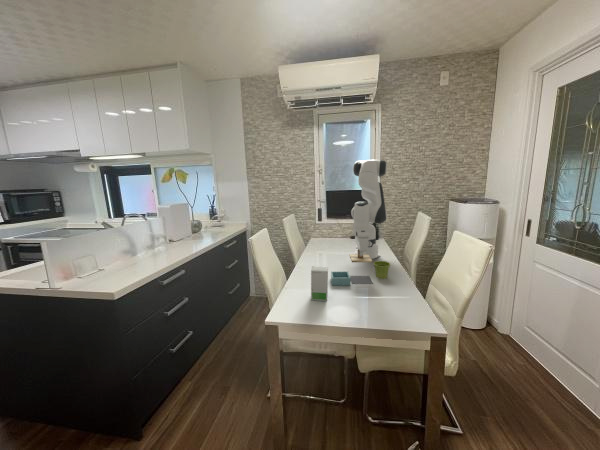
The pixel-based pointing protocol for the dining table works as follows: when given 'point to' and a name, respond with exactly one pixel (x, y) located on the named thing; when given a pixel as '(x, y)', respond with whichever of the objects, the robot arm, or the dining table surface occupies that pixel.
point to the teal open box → (340, 278)
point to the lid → (360, 257)
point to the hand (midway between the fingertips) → (360, 254)
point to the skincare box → (319, 283)
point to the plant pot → (381, 269)
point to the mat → (360, 280)
